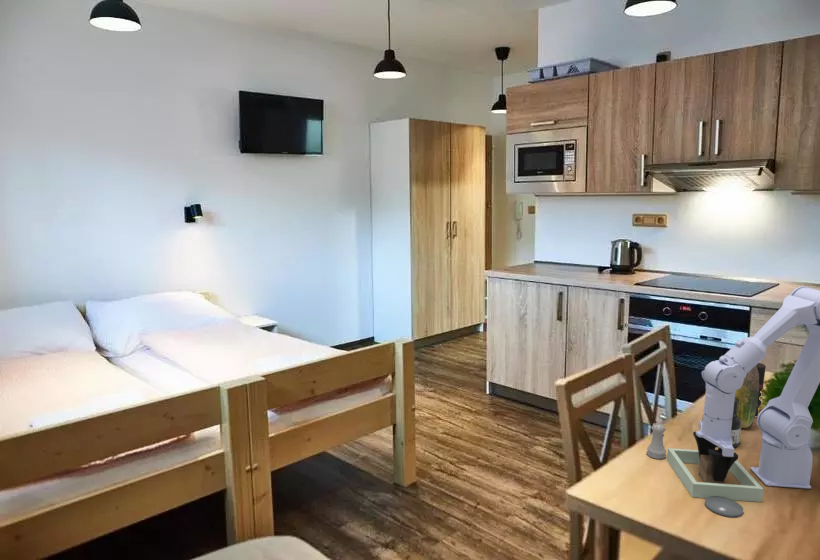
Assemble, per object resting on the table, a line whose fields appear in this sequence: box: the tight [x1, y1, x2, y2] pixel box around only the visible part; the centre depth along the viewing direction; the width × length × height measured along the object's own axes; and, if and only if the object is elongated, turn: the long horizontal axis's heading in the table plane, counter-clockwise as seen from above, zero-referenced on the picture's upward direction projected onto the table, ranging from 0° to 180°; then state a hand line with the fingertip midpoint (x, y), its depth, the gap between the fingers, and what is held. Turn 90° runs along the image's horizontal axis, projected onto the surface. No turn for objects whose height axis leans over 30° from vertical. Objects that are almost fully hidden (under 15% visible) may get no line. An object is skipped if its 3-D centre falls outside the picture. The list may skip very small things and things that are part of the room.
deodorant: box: [755, 362, 767, 416], centre depth 168 cm, size 6×6×15 cm
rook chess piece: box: [646, 422, 667, 460], centre depth 142 cm, size 4×4×8 cm
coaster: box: [704, 496, 744, 518], centre depth 119 cm, size 7×7×1 cm
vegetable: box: [735, 366, 759, 429], centre depth 159 cm, size 6×6×20 cm
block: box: [698, 455, 726, 484], centre depth 130 cm, size 4×4×5 cm
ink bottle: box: [701, 397, 742, 448], centre depth 150 cm, size 10×9×12 cm
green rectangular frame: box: [666, 447, 764, 503], centre depth 131 cm, size 14×17×3 cm
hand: (711, 472), depth 131 cm, fingers open, 7 cm apart
